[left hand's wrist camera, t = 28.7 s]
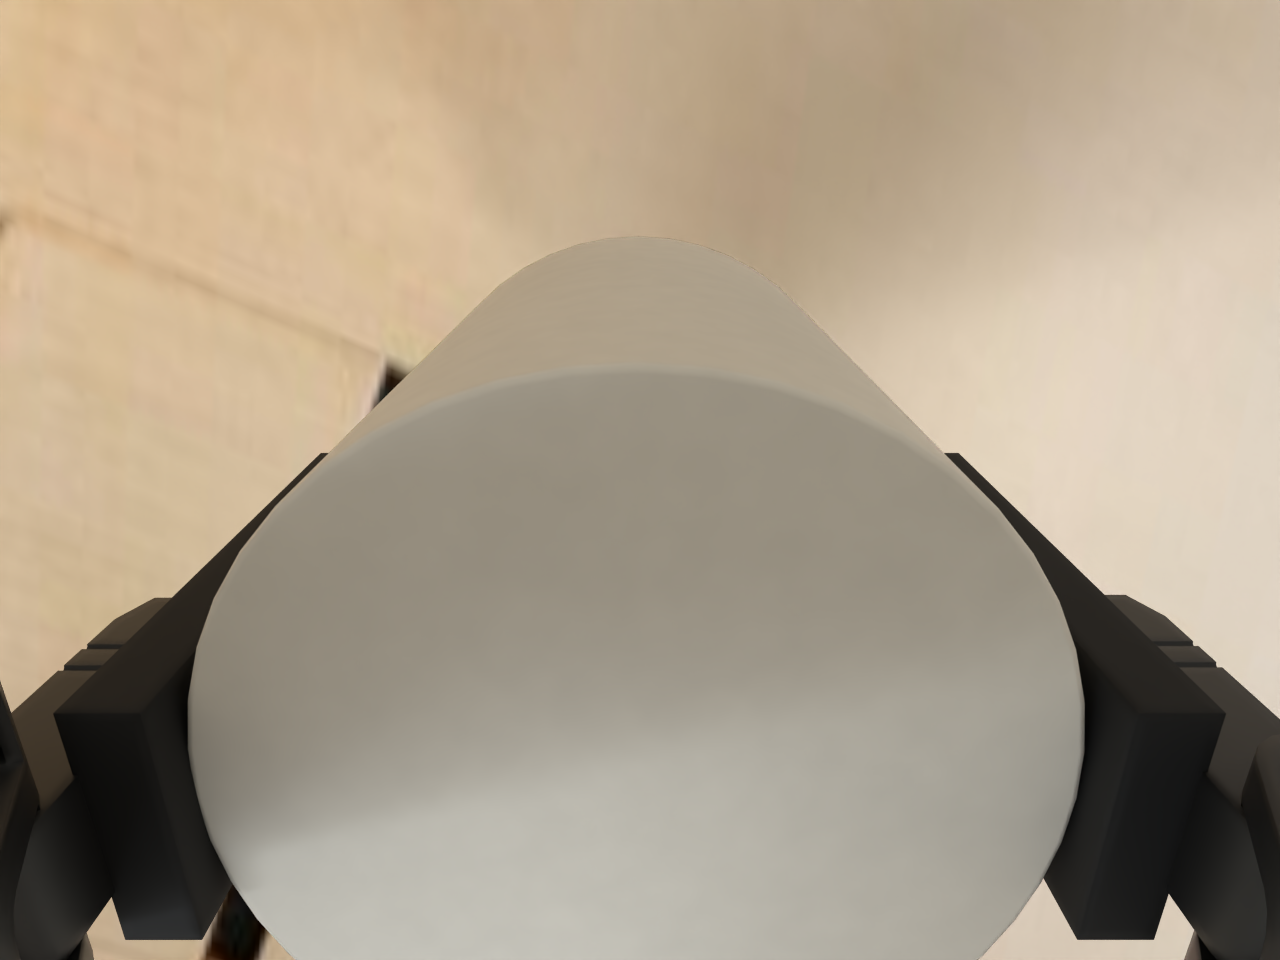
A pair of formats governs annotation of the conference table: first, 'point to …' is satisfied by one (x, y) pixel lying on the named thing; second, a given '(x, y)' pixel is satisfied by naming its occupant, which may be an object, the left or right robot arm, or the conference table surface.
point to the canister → (636, 652)
